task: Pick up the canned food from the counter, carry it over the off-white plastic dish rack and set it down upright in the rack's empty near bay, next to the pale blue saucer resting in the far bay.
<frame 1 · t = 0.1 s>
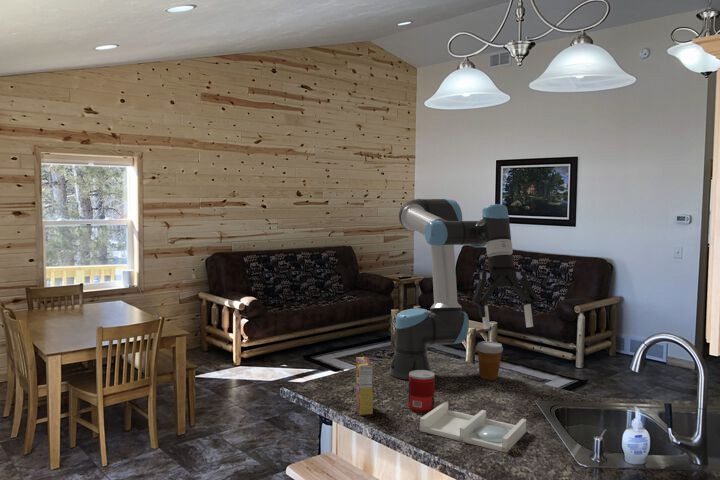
hand: (508, 328, 175), 28 cm above the countertop, tool tilted 20°, fingers open, 13 cm apart
disposable coffee cup: (488, 377, 220), on the countertop
candy box: (363, 410, 186), on the countertop
canned food: (421, 408, 188), on the countertop
saucer: (493, 436, 165), point 1 cm above the countertop, touching rack
rack: (472, 434, 168), on the countertop
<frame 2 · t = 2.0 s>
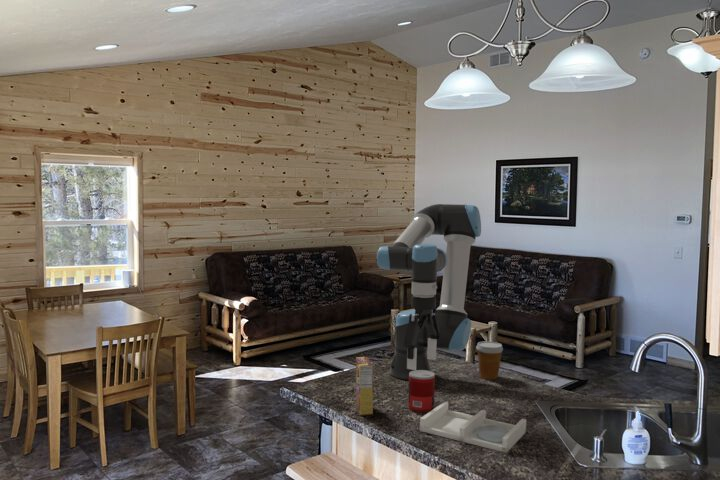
hand: (421, 364, 186), 14 cm above the countertop, tool pointing down, fingers open, 13 cm apart
nothing on the countertop moved.
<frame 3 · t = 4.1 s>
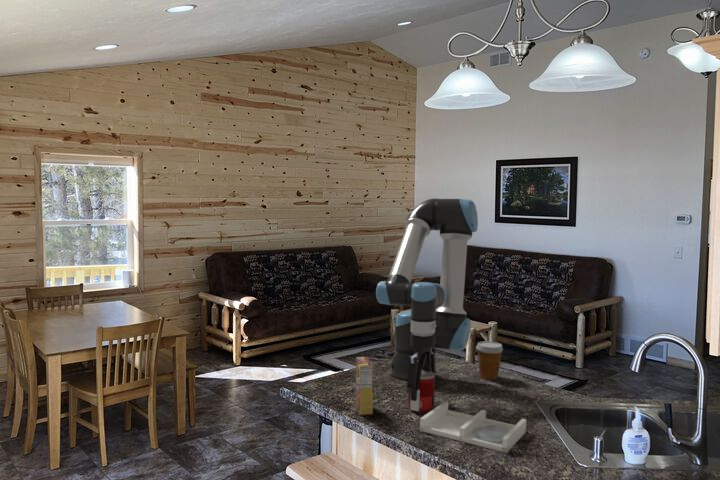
hand: (421, 405, 187), 1 cm above the countertop, tool pointing down, fingers closed on canned food, 8 cm apart
canned food: (421, 408, 188), on the countertop, touching gripper
everything else where it was.
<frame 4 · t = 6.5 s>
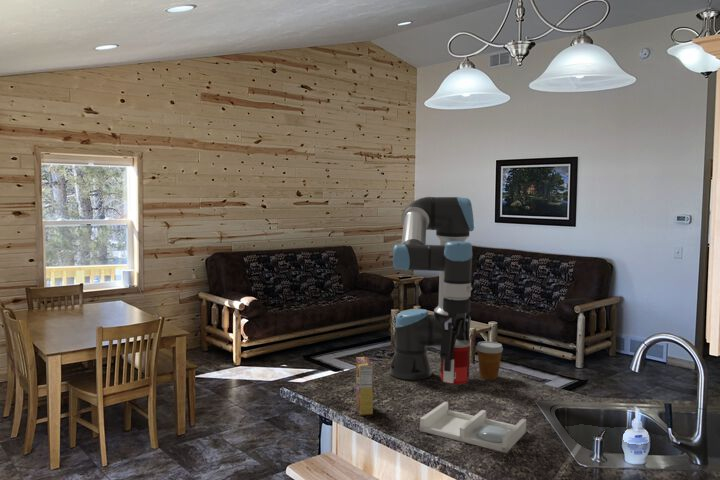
hand: (454, 378, 170), 15 cm above the countertop, tool pointing down, fingers closed on canned food, 8 cm apart
canned food: (454, 381, 170), point 14 cm above the countertop, touching gripper
everything else where it was.
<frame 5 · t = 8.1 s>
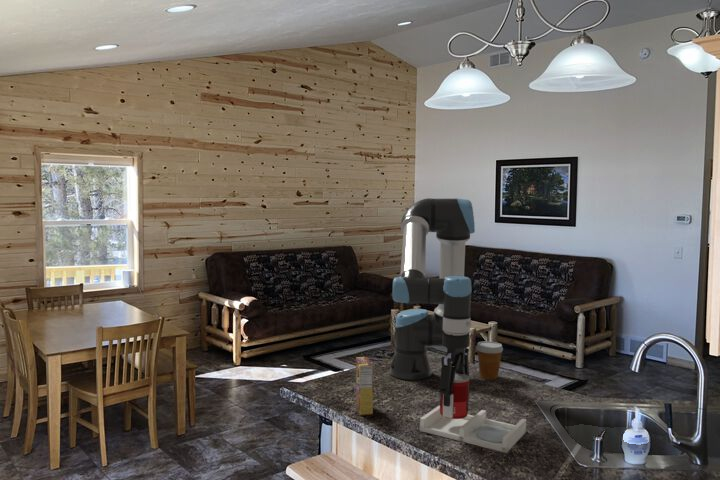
hand: (453, 412, 170), 5 cm above the countertop, tool pointing down, fingers closed on canned food, 8 cm apart
canned food: (453, 415, 171), point 4 cm above the countertop, touching gripper
everything else where it was.
when the fingers open (4 cm above the countertop, at t = 9.3 s): canned food drops 2 cm, resting on rack.
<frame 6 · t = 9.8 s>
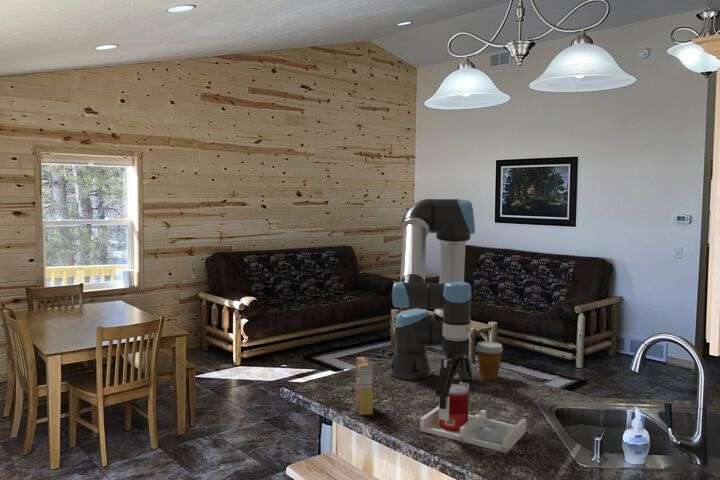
hand: (453, 412, 170), 5 cm above the countertop, tool pointing down, fingers open, 13 cm apart
canned food: (453, 427, 171), point 1 cm above the countertop, touching rack
everything else where it was.
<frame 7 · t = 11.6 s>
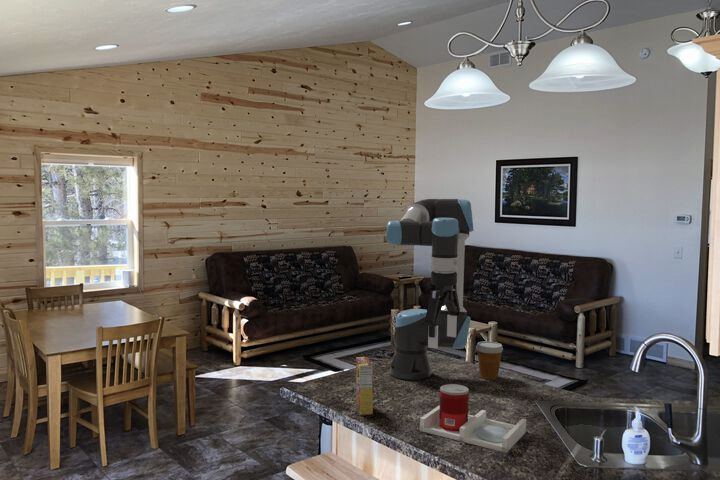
hand: (442, 342, 179), 22 cm above the countertop, tool pointing down, fingers open, 13 cm apart
nothing on the countertop moved.
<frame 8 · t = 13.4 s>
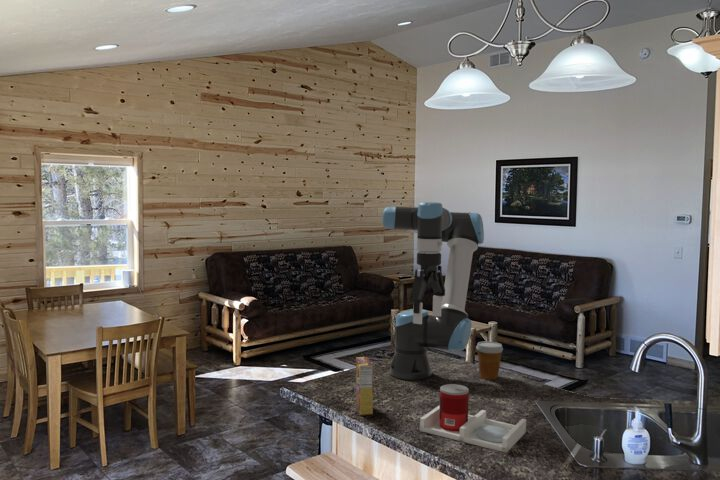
hand: (427, 319, 190), 27 cm above the countertop, tool pointing down, fingers open, 13 cm apart
nothing on the countertop moved.
at the end: canned food inside the target area on the rack (0.1 cm from its centre), point 0.8 cm above the rack's base; canned food tilted 0°; the gripper is holding nothing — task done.
